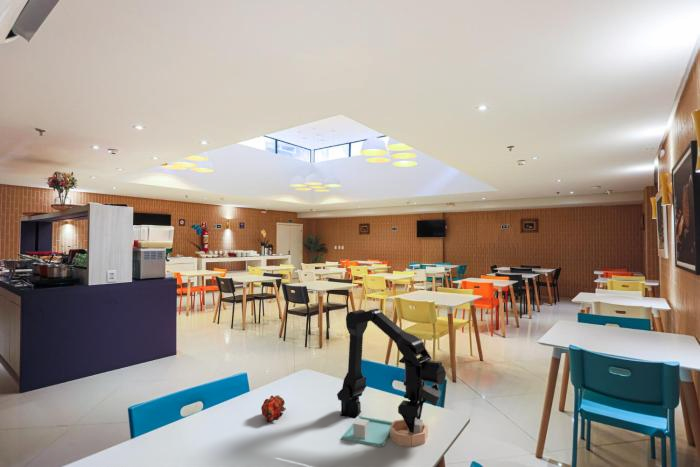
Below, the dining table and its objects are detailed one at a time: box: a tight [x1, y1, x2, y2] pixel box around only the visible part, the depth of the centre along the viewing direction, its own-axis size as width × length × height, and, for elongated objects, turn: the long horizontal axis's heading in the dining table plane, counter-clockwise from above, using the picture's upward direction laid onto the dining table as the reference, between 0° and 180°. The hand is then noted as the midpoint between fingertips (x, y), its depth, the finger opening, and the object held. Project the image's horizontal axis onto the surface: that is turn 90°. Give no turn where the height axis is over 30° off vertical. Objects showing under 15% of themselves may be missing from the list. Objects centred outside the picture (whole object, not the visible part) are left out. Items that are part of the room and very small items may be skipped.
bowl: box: [389, 418, 429, 448], centre depth 122 cm, size 12×12×4 cm
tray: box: [341, 415, 393, 448], centre depth 126 cm, size 14×16×1 cm
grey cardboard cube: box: [352, 418, 369, 440], centre depth 123 cm, size 4×4×5 cm
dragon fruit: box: [260, 395, 287, 423], centre depth 139 cm, size 8×8×12 cm
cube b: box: [408, 418, 424, 435], centre depth 122 cm, size 4×4×5 cm
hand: (415, 425), depth 122 cm, fingers open, 9 cm apart
